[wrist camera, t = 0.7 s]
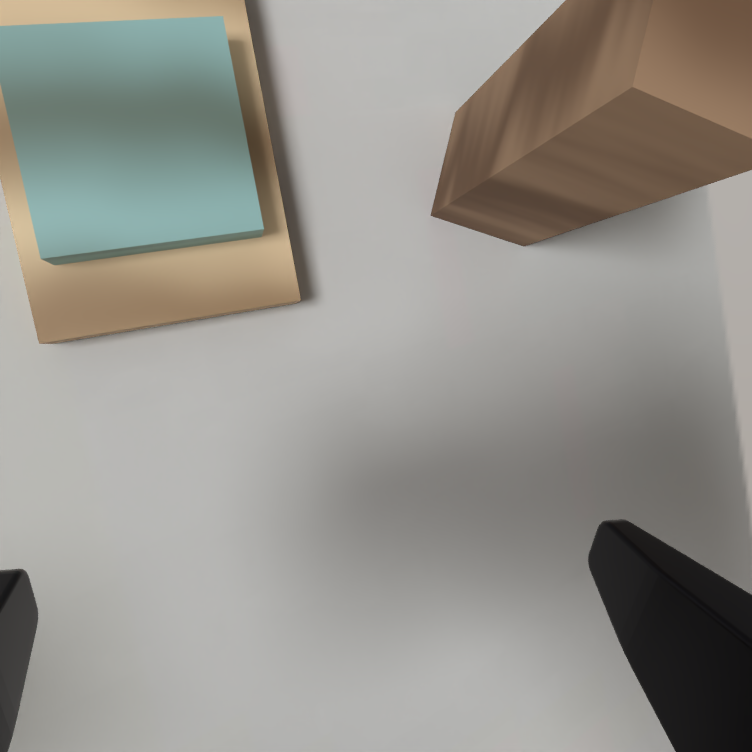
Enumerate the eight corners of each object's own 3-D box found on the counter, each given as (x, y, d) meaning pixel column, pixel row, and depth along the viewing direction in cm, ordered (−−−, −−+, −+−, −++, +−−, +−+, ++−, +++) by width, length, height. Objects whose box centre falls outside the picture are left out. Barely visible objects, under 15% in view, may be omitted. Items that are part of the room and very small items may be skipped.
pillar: (523, 246, 26) (791, 155, 13) (430, 215, 24) (632, 87, 12) (547, 147, 26) (835, -30, 14) (455, 112, 24) (680, -117, 12)
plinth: (296, 303, 23) (306, 297, 20) (52, 343, 21) (24, 343, 18) (236, -10, 22) (238, -65, 19) (-28, -2, 20) (-72, -61, 17)
